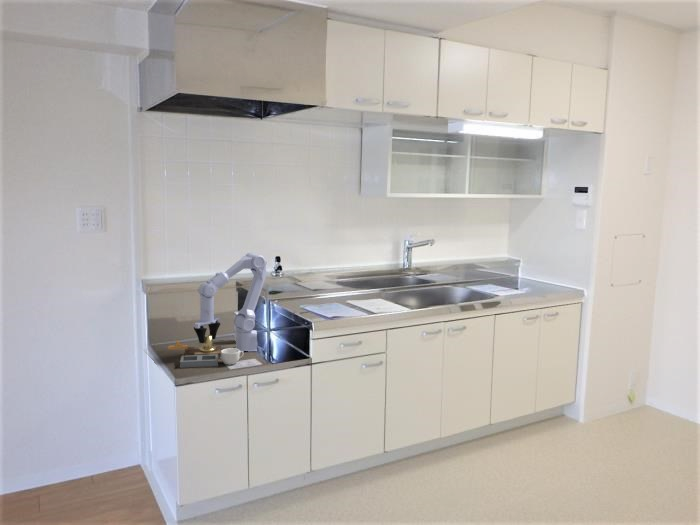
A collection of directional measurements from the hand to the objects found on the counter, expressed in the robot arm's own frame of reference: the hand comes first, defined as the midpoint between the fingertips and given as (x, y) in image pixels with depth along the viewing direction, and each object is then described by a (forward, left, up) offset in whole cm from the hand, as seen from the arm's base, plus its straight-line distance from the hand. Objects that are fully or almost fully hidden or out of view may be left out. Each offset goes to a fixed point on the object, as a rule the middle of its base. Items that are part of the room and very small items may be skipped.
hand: (207, 340), depth 252 cm
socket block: (+2, 0, -7) cm, 7 cm away
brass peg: (0, 0, -7) cm, 7 cm away
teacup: (-11, +11, -7) cm, 17 cm away
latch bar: (+12, 0, -3) cm, 13 cm away
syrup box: (-15, -20, -7) cm, 26 cm away
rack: (+3, +11, -7) cm, 13 cm away
